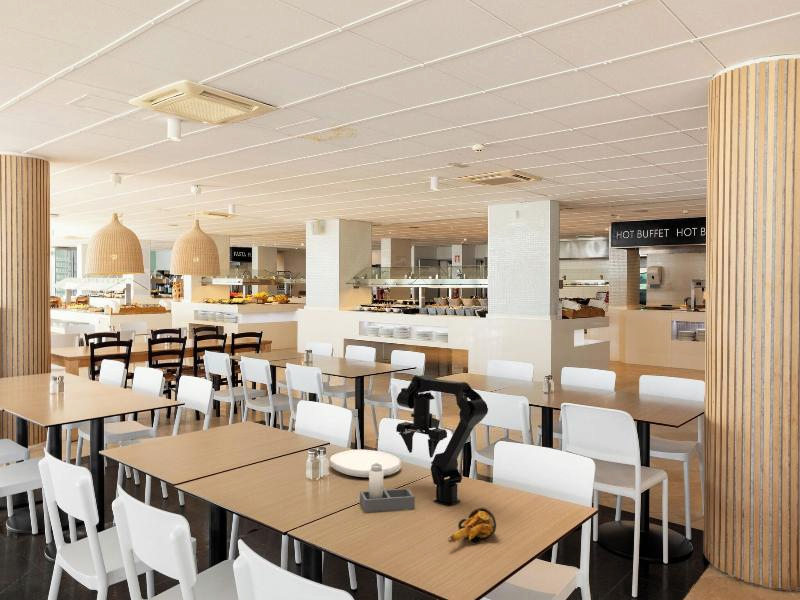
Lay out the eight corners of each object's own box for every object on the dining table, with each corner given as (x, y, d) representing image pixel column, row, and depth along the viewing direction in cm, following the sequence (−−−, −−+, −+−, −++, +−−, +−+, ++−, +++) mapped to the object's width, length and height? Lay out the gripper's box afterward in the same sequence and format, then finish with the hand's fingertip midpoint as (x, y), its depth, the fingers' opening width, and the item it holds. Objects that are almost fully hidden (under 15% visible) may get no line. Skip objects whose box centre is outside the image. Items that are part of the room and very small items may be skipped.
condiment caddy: (407, 500, 205) (407, 488, 205) (414, 509, 197) (414, 496, 197) (359, 503, 201) (360, 491, 201) (364, 512, 193) (364, 500, 193)
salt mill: (384, 502, 200) (385, 461, 200) (380, 507, 195) (381, 465, 195) (370, 500, 201) (371, 460, 201) (366, 505, 196) (368, 463, 196)
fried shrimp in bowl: (508, 520, 176) (484, 519, 162) (489, 553, 176) (464, 555, 161) (483, 501, 181) (458, 498, 167) (465, 534, 181) (438, 533, 167)
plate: (413, 455, 244) (380, 473, 221) (411, 471, 245) (378, 490, 221) (354, 439, 257) (317, 454, 234) (352, 454, 258) (315, 470, 234)
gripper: (456, 411, 214) (455, 455, 214) (414, 404, 226) (414, 446, 226) (437, 416, 205) (437, 461, 206) (395, 408, 217) (394, 451, 217)
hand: (420, 455), depth 214 cm, fingers open, 9 cm apart
